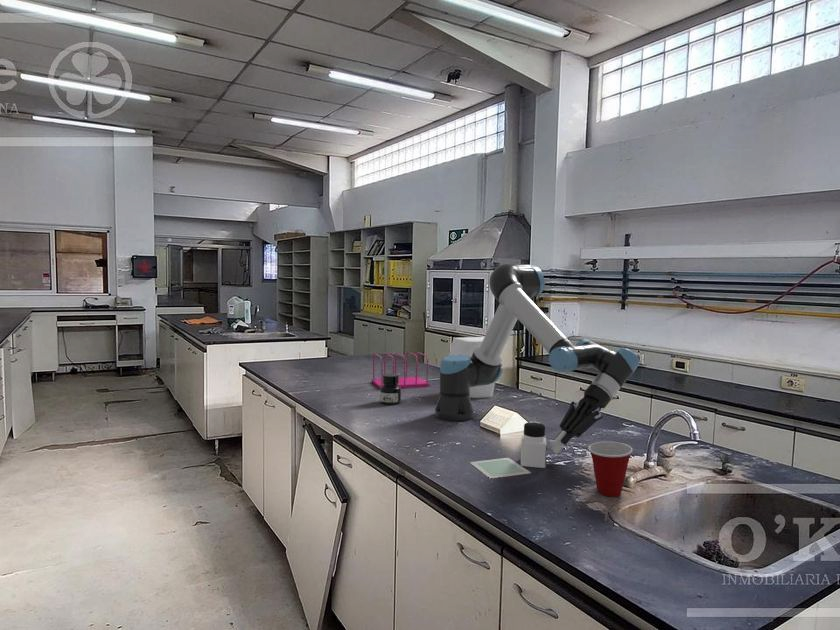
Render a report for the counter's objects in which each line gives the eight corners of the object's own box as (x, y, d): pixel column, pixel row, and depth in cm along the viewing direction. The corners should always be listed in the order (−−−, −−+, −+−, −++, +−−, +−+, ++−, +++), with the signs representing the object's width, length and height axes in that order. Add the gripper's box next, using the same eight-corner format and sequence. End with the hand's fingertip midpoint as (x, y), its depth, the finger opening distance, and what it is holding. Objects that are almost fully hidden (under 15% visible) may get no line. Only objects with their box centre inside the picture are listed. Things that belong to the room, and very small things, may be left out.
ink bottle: (375, 403, 226) (375, 375, 225) (384, 399, 235) (385, 372, 234) (396, 406, 223) (396, 377, 222) (405, 401, 231) (405, 374, 230)
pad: (489, 478, 145) (490, 478, 145) (469, 462, 158) (469, 462, 158) (531, 473, 150) (531, 472, 150) (508, 457, 162) (508, 457, 162)
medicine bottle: (545, 468, 153) (547, 427, 152) (520, 466, 155) (522, 425, 154) (545, 460, 160) (546, 421, 159) (520, 458, 162) (522, 419, 161)
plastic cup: (579, 484, 142) (581, 440, 142) (618, 483, 143) (620, 439, 142) (596, 501, 132) (598, 454, 131) (638, 500, 133) (640, 453, 132)
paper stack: (505, 397, 241) (506, 340, 239) (448, 400, 234) (449, 342, 232) (487, 387, 261) (488, 335, 259) (434, 390, 254) (435, 336, 252)
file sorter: (371, 382, 270) (371, 351, 269) (418, 379, 278) (418, 350, 277) (380, 389, 254) (380, 357, 252) (429, 386, 262) (430, 355, 261)
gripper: (622, 404, 159) (573, 465, 154) (594, 394, 171) (548, 451, 166) (608, 387, 156) (558, 449, 152) (580, 379, 169) (533, 436, 164)
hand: (553, 450), depth 159 cm, fingers closed
